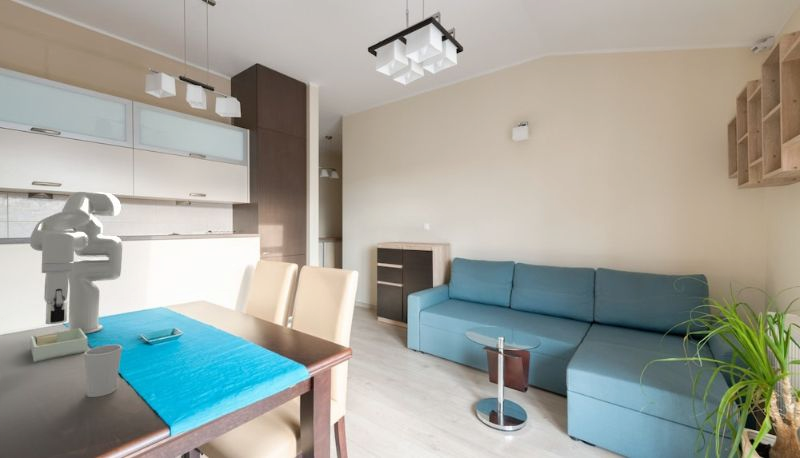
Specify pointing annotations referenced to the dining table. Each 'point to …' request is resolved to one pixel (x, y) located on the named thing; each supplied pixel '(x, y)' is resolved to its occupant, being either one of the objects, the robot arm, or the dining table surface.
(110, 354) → the cup
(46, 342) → the beech cube
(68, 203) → the robot arm
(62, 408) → the dining table surface
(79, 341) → the tote
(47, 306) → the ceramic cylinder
